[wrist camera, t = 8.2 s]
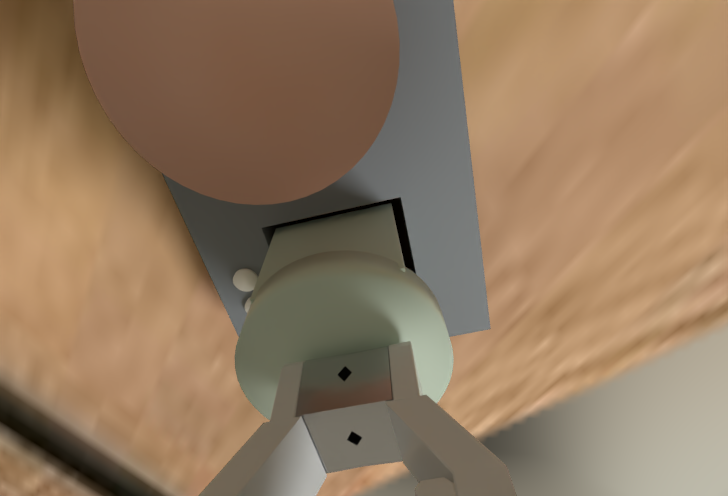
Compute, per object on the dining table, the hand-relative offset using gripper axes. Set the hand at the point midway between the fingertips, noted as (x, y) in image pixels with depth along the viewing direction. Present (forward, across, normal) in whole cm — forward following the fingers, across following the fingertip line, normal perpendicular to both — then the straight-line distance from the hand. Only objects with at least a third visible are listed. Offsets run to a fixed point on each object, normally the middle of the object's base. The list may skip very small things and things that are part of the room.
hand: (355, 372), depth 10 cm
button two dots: (+5, 0, 0) cm, 5 cm away
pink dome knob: (+5, 0, -7) cm, 9 cm away
